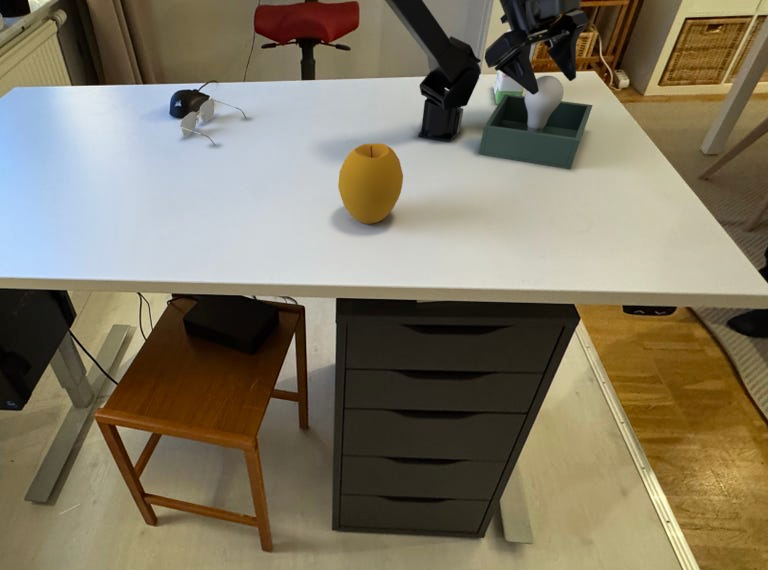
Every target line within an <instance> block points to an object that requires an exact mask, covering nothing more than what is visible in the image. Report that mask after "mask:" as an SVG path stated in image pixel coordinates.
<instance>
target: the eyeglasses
mask: <svg viewBox="0 0 768 570" xmlns="http://www.w3.org/2000/svg"><path fill="white" fill-rule="evenodd" d="M215 102H217V103H220V104H223V105H225V106H229V107H232V108H234V109H236V110H239V111H241V112H242V114H243V117H244V118H245V119H246V120H247V119H248V118H247V117H246V115H245V112H244V111H243V109H241V108H239V107H236V106H233V105H231V104H228V103H224V102H222V101H219V100H217V99H214V98H209V99H208V100H206V101H204V102H203V103H202V104H201V105H200V107H199V110H198V111H197V112H195V111H191V112H189V113H188V114H187V115H185V116H184V117H183V118H182V119H181V121H180V124H179V125H178V126H179V128H180V129H181V133H182V135H183V137H185V138H186V137H189V136H190V135H191V134H192V133H195V134H198V135H201V136H204V137H206V138H208V139H209V140H210V141H211V143H212V144H213V146H216V144H215V143H214V141H213V140H212V138H210V137H209V136H208V135H206V134H203V133H199V132H197V131H195V130H196V128H197V124H199V121H200V119H199V118H201V120H202V122H203V123H207V122H208V121H210V120H211V119H212V118H213V116H214V115H215V114H214V113H215ZM198 113H199V114H200V117H199V116H197V114H198Z"/></svg>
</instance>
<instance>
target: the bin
mask: <svg viewBox="0 0 768 570" xmlns="http://www.w3.org/2000/svg"><path fill="white" fill-rule="evenodd" d="M592 108H593V104H589V103H580V102H572V101H563V100H561V102H560V104H559V105H558V106H557V108H556V109H555V110H554V111H553V112H552V113H551V115H550V116H549V118H548V120H547V123H546V125H545V127H544V128H543V132H542V133H538V132H531V131H527V129H528V125H527V122H528V111H527V108H526V104H525V96H524V95H522V96H515V95H507V94H505V95H504V97H503V98H502V100H501V101H500V103H499V104H497V106H496V107H495V108H494V110H493V112H492V114H491V115H490V117H489V118H488V120H487V121H486V123H485V124H484V126H483V130H482V136H481V141H480V145H479V150H478V155H483V156H489V157H494V158H500V159H507V160H513V161H520V162H525V163H531V164H538V165H544V166H550V167H554V168H555V167H556V168H561V169H562V168H563V169H568V170H571V168H572V165H573V163H574V161H575V158H576V154H577V152H578V148H579V146H580V143H581V140H582V138H583V135H584V132H585V130H586V127H587V125H588V124H587V123H588V120H589V118H590V114H591V111H592Z"/></svg>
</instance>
